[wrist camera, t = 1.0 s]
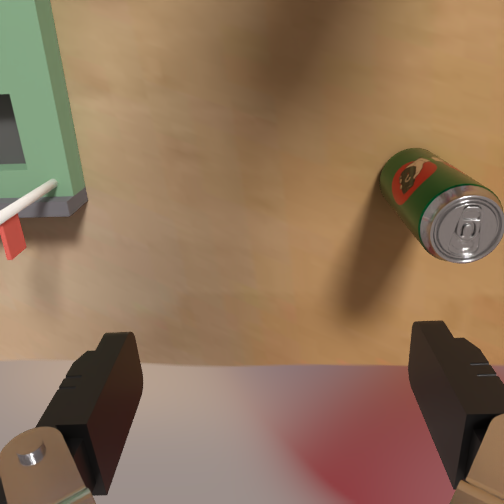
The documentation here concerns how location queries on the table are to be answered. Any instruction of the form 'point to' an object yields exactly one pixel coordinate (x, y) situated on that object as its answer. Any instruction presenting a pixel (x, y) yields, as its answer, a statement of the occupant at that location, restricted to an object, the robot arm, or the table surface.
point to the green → (34, 124)
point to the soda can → (442, 206)
